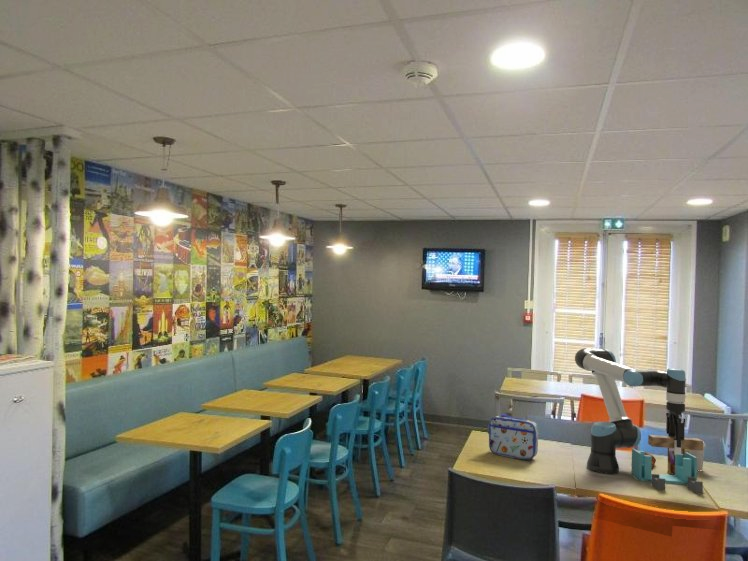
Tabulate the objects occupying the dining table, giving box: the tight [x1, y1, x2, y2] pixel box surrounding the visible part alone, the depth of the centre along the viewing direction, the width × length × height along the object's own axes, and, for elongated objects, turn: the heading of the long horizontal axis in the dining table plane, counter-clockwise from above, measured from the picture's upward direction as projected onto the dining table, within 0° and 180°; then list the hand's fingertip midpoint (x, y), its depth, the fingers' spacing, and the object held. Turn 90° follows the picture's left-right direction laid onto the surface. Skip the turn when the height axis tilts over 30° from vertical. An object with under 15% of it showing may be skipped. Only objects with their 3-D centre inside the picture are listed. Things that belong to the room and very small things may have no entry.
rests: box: [651, 473, 704, 495], centre depth 228 cm, size 19×7×5 cm, turn 83°
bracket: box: [631, 447, 698, 486], centre depth 241 cm, size 26×9×13 cm, turn 83°
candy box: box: [667, 448, 689, 475], centre depth 250 cm, size 9×4×15 cm, turn 26°
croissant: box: [644, 451, 657, 469], centre depth 266 cm, size 21×10×8 cm, turn 164°
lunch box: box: [486, 413, 539, 461], centre depth 271 cm, size 28×10×22 cm, turn 58°
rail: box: [647, 434, 703, 451], centre depth 230 cm, size 22×4×4 cm, turn 83°
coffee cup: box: [689, 440, 707, 472], centre depth 261 cm, size 10×10×15 cm
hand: (674, 452), depth 230 cm, fingers closed on rail, 4 cm apart
